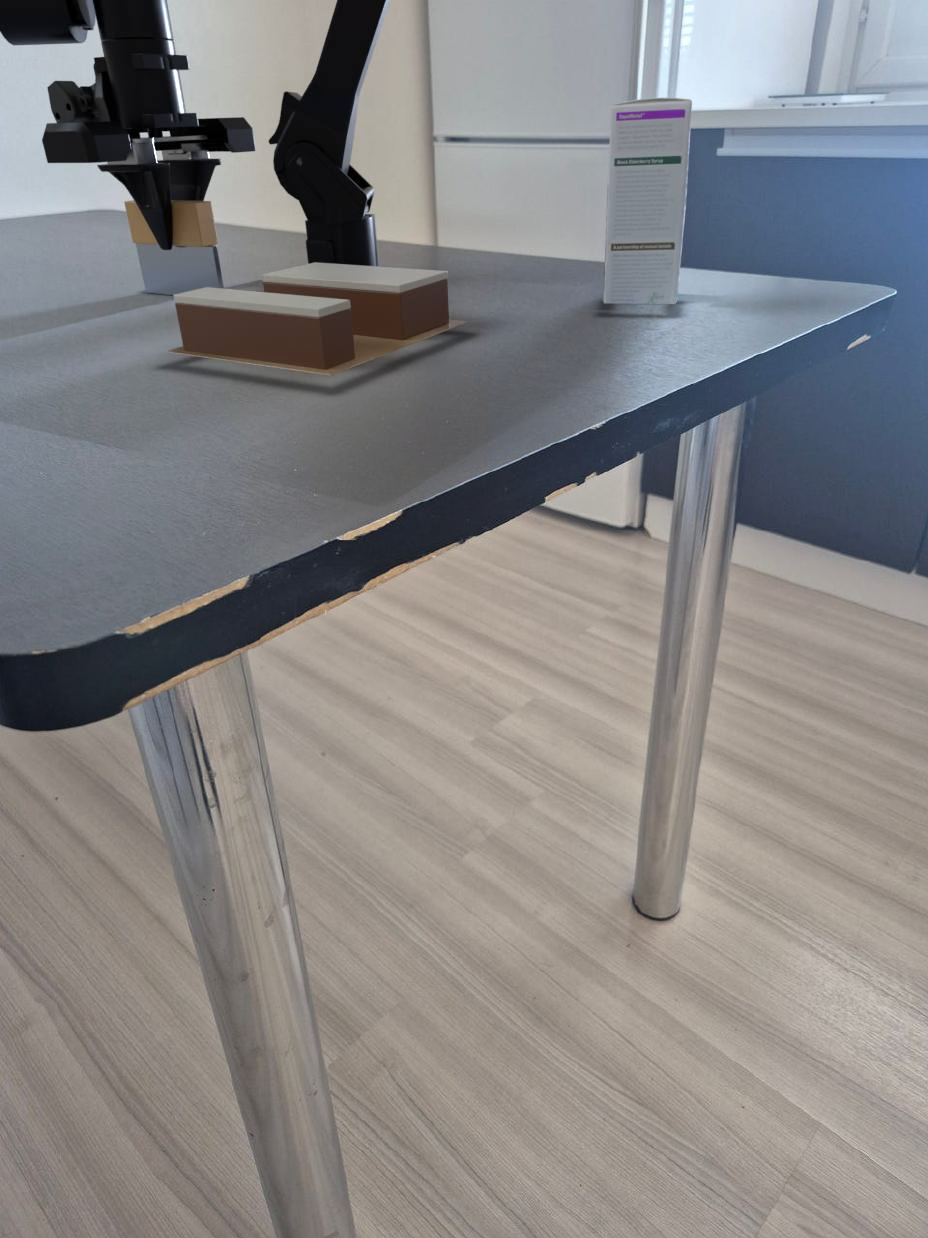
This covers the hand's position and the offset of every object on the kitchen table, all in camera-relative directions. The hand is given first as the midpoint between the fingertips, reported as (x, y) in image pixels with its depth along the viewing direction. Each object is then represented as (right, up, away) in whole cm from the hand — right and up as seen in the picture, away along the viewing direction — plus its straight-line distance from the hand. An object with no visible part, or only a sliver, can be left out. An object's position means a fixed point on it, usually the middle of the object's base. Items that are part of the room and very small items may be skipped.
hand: (176, 247), depth 77 cm
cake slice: (+14, -17, -23) cm, 31 cm away
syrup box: (+40, -9, -9) cm, 42 cm away
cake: (+19, -12, -16) cm, 27 cm away
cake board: (+17, -15, -18) cm, 29 cm away
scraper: (0, -3, +2) cm, 4 cm away
